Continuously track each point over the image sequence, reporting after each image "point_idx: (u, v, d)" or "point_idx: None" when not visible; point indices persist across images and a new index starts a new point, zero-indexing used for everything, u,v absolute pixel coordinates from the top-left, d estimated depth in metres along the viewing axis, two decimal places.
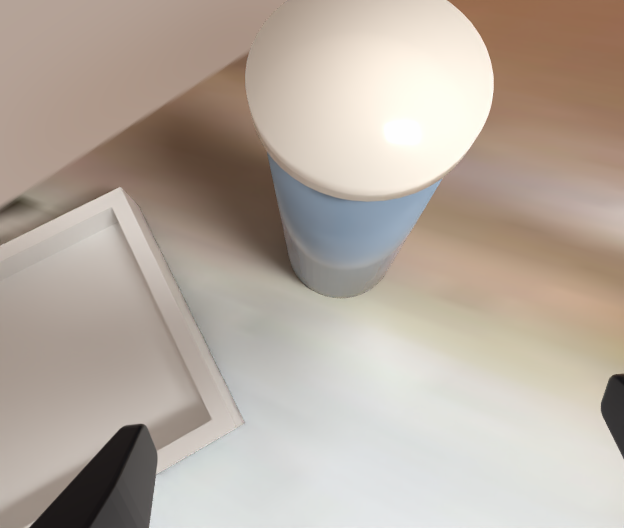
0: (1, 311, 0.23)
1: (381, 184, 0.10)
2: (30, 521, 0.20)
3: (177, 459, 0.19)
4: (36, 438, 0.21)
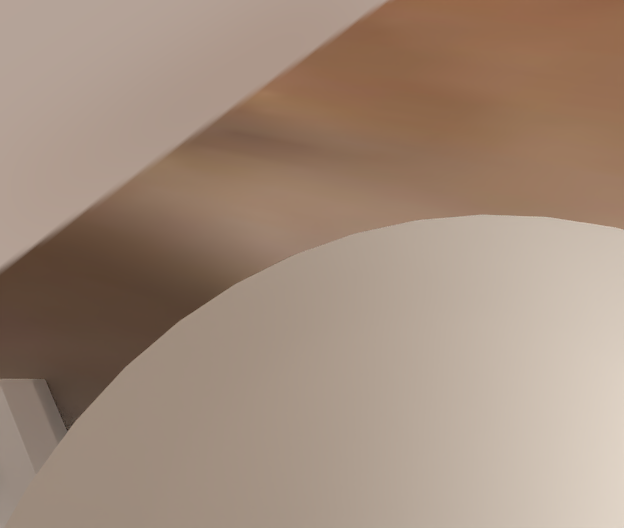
0: None
1: None
2: None
3: None
4: None
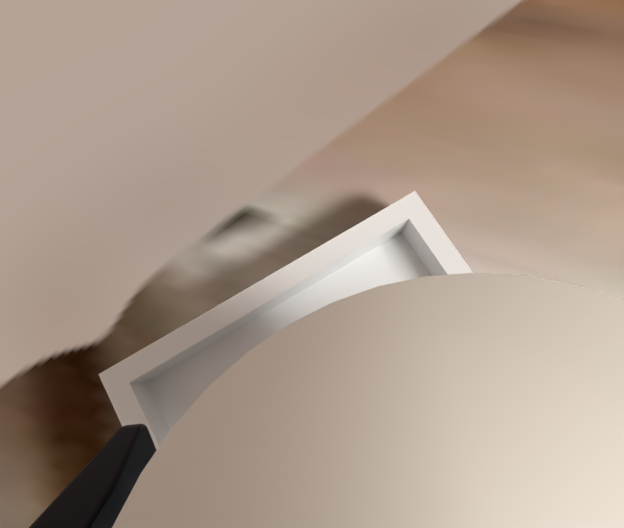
0: None
1: None
2: None
3: None
4: None
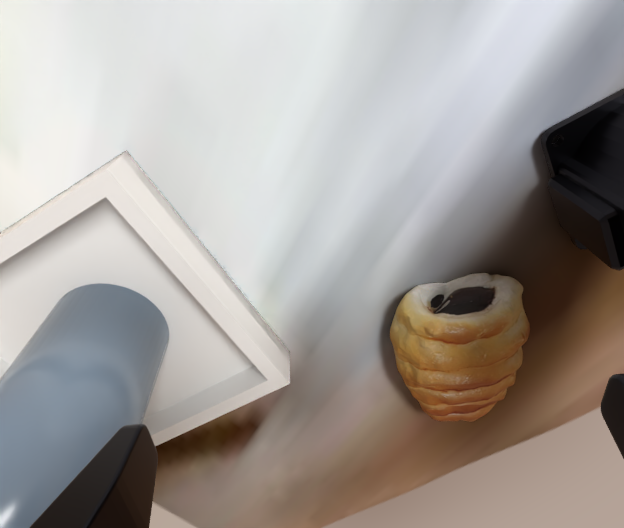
0: None
1: None
2: None
3: (154, 227, 0.18)
4: (175, 340, 0.23)
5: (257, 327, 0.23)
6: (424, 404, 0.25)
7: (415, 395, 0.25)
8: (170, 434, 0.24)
